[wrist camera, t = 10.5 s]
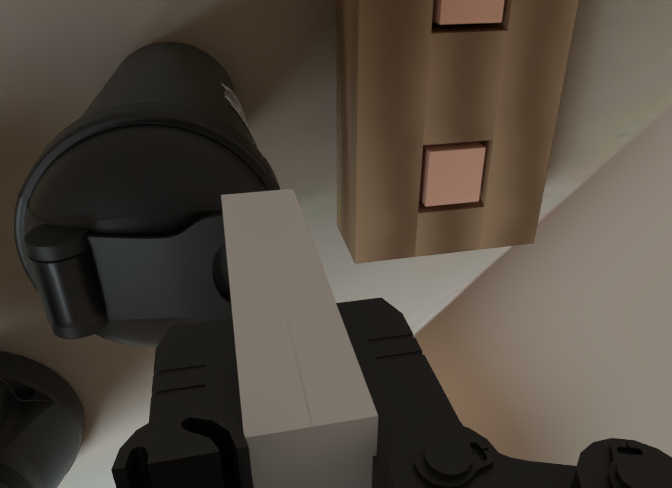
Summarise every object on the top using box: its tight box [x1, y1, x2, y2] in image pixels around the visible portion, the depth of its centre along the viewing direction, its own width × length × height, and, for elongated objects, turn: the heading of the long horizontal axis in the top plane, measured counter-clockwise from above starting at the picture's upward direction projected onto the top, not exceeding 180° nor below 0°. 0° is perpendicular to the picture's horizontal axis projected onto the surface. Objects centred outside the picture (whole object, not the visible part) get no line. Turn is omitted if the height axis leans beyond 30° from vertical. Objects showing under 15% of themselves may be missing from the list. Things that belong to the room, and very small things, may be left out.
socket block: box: [337, 0, 579, 263], centre depth 39 cm, size 14×24×6 cm, turn 0°
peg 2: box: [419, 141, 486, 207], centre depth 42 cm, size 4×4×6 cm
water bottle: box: [14, 42, 280, 347], centre depth 29 cm, size 10×10×23 cm
